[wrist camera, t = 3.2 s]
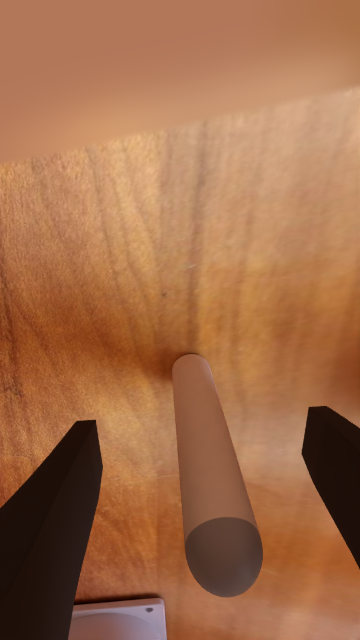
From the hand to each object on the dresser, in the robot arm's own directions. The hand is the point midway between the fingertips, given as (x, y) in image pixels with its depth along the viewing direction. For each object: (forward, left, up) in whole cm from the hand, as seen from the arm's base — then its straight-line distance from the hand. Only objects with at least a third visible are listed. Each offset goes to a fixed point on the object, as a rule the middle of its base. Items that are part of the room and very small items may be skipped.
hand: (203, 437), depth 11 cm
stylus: (0, 0, -5) cm, 5 cm away
